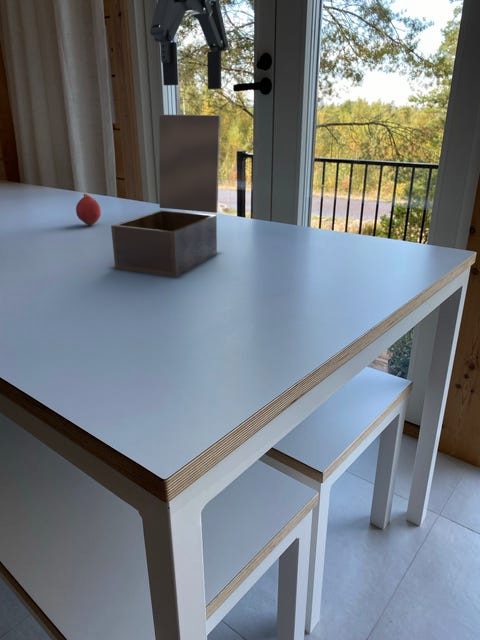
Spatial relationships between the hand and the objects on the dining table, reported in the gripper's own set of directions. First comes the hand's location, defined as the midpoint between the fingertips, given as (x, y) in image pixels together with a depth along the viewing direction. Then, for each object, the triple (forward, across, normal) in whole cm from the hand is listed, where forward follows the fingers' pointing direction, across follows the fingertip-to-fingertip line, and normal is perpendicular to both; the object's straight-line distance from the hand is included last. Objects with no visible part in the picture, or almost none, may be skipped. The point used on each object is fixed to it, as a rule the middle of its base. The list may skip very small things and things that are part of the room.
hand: (194, 87), depth 89 cm
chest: (+30, +12, +2) cm, 33 cm away
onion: (+30, -1, -34) cm, 46 cm away
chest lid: (+13, +3, 0) cm, 14 cm away
